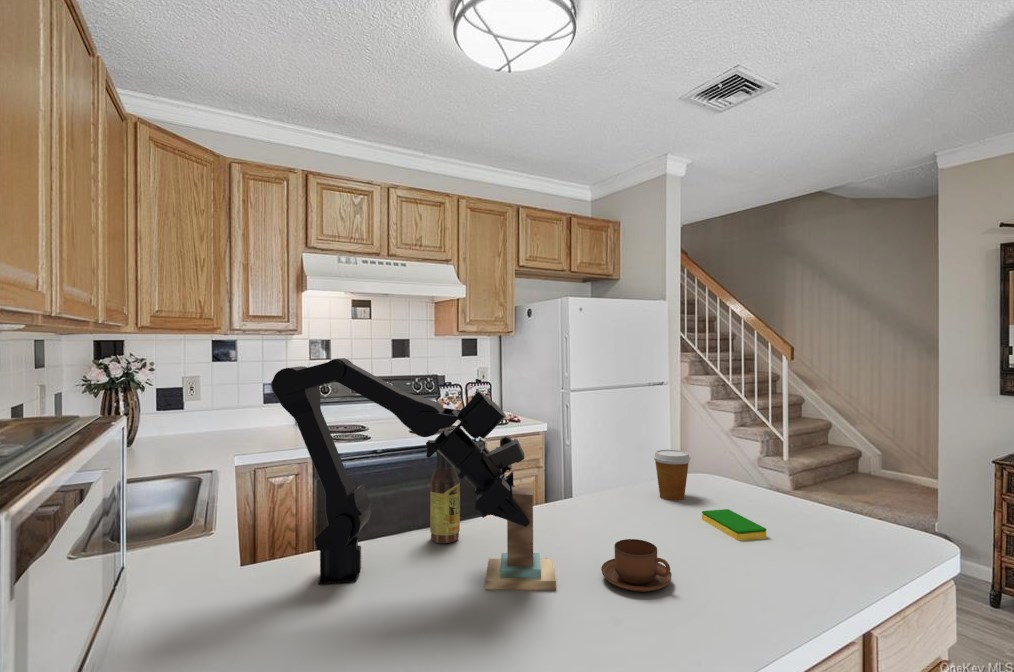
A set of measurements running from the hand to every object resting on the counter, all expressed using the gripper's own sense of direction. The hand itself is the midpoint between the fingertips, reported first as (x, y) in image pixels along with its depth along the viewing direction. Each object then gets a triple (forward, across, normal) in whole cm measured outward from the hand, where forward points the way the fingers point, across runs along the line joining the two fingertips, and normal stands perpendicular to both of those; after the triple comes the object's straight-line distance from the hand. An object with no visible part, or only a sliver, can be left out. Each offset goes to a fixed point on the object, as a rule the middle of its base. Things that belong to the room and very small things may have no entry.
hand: (527, 518), depth 94 cm
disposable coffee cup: (+35, +49, -20) cm, 63 cm away
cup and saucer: (+21, -1, -6) cm, 22 cm away
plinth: (+6, 0, +8) cm, 11 cm away
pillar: (+4, 0, +6) cm, 8 cm away
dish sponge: (+41, +26, -25) cm, 54 cm away
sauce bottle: (-5, +18, +20) cm, 27 cm away
